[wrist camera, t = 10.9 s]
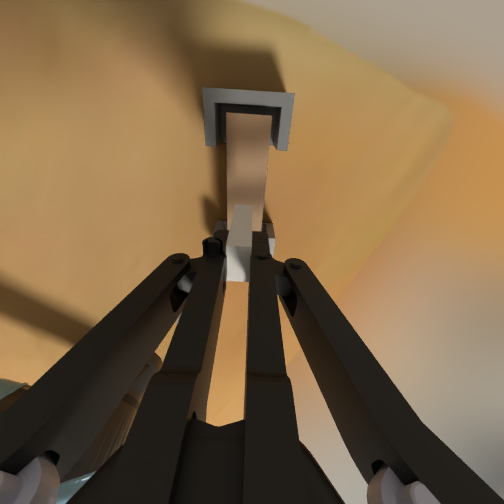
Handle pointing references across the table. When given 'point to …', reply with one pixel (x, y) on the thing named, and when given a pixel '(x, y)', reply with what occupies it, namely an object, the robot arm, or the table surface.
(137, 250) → the table surface
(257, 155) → the slat
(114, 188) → the table surface
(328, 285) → the table surface
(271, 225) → the cap
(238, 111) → the cap
